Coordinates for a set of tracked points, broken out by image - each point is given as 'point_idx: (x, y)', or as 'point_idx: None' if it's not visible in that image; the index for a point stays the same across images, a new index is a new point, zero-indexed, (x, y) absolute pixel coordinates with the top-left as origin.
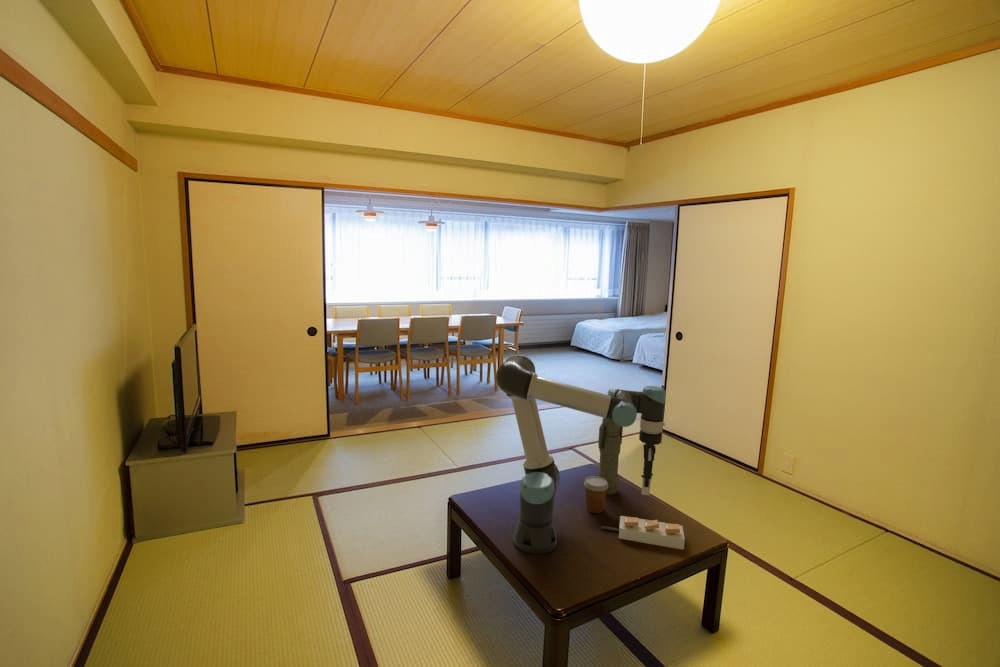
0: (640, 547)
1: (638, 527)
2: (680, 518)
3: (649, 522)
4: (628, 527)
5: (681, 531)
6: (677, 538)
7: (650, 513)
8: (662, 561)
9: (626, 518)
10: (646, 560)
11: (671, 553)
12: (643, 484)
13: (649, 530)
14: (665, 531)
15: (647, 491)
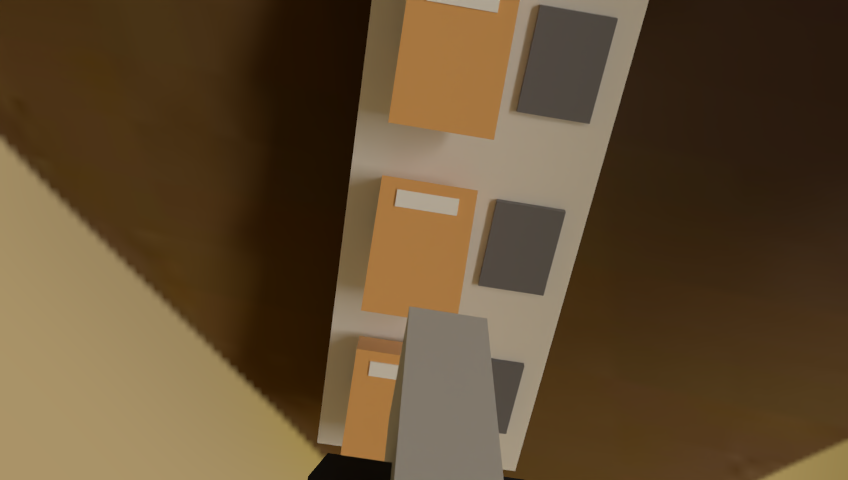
0: (287, 90)
1: None
2: (747, 461)
3: (441, 239)
4: None
5: None
6: (323, 397)
7: (839, 272)
8: (143, 222)
9: (494, 4)
10: (115, 106)
11: (265, 303)
12: (395, 465)
13: None
14: (402, 337)
15: (389, 435)
